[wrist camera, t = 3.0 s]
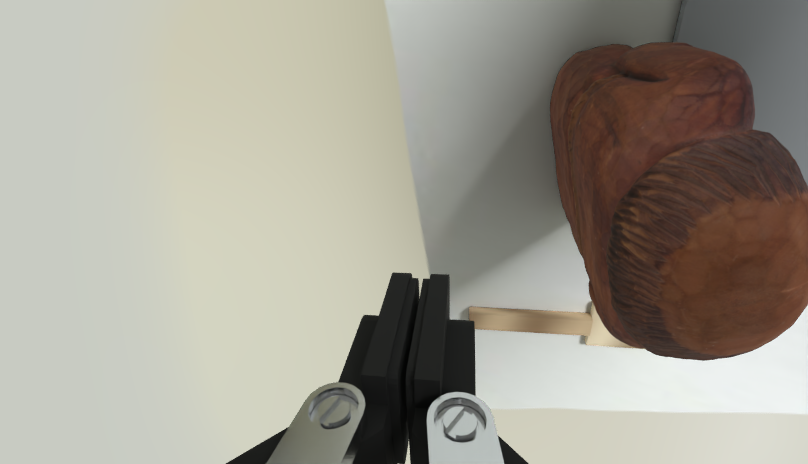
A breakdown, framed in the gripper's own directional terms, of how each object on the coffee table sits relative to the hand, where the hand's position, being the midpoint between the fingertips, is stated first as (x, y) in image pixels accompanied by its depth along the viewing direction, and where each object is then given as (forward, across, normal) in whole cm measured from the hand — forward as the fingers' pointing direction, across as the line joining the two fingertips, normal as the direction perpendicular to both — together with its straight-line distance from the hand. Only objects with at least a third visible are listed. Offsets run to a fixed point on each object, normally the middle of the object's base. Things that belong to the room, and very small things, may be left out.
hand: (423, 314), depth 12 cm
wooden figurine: (+20, -10, -1) cm, 22 cm away
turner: (+20, -12, +15) cm, 27 cm away
